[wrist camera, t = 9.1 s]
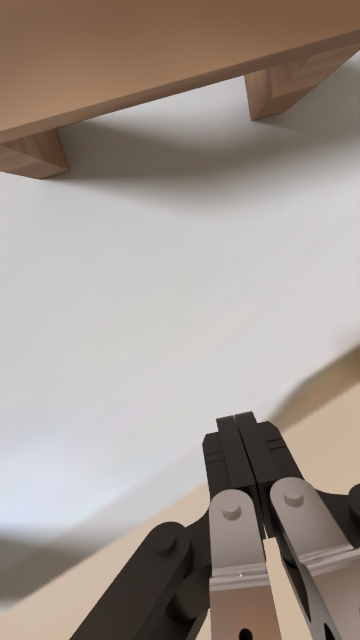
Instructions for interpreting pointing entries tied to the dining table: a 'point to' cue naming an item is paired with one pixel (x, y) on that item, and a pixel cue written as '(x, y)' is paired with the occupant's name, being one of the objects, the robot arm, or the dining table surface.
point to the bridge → (154, 60)
